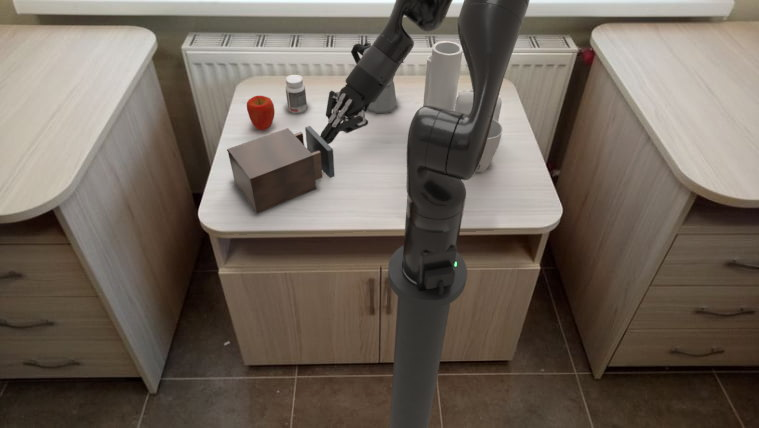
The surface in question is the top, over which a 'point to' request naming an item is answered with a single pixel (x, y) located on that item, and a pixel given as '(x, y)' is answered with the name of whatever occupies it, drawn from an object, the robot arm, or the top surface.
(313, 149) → the drawer
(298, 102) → the pill bottle
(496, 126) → the cup
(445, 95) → the vase
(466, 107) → the photo printer
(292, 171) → the cabinet
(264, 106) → the apple
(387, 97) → the coffee maker
